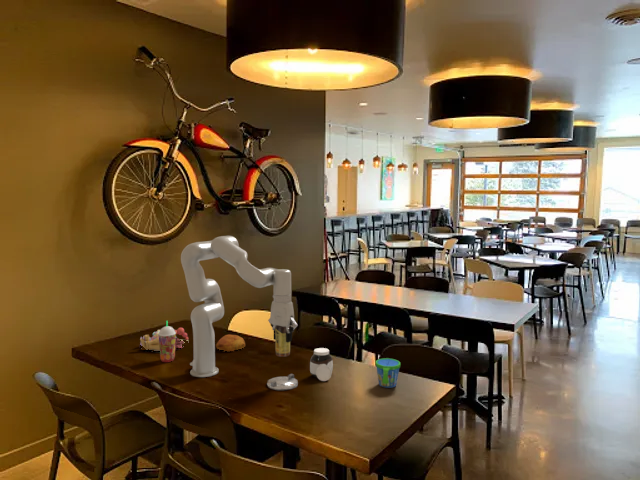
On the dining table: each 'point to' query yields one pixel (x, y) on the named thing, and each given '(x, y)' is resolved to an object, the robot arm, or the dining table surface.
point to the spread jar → (321, 364)
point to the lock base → (282, 383)
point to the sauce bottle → (281, 342)
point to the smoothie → (167, 343)
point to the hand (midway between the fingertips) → (282, 339)
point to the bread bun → (230, 343)
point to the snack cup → (387, 372)
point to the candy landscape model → (154, 341)
